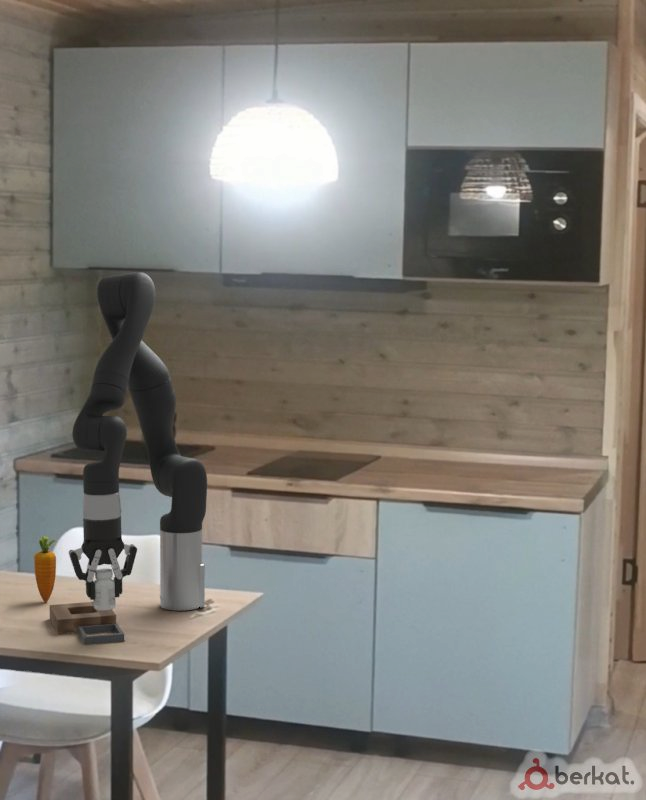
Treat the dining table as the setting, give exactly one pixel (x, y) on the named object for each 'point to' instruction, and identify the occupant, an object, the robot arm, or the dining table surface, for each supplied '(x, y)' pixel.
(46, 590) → the carrot
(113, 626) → the tray
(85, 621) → the socket block
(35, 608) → the dining table surface
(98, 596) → the pill bottle
